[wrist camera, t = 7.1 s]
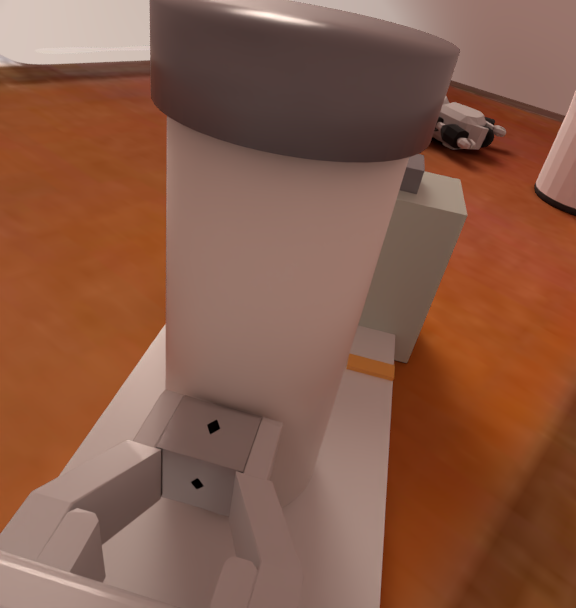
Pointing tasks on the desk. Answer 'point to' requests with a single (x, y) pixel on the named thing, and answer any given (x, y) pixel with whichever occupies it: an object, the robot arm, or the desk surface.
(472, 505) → the desk surface
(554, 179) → the mug
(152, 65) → the white capped cylinder
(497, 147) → the desk surface
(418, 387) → the desk surface
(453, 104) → the robot toy
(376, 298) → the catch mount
